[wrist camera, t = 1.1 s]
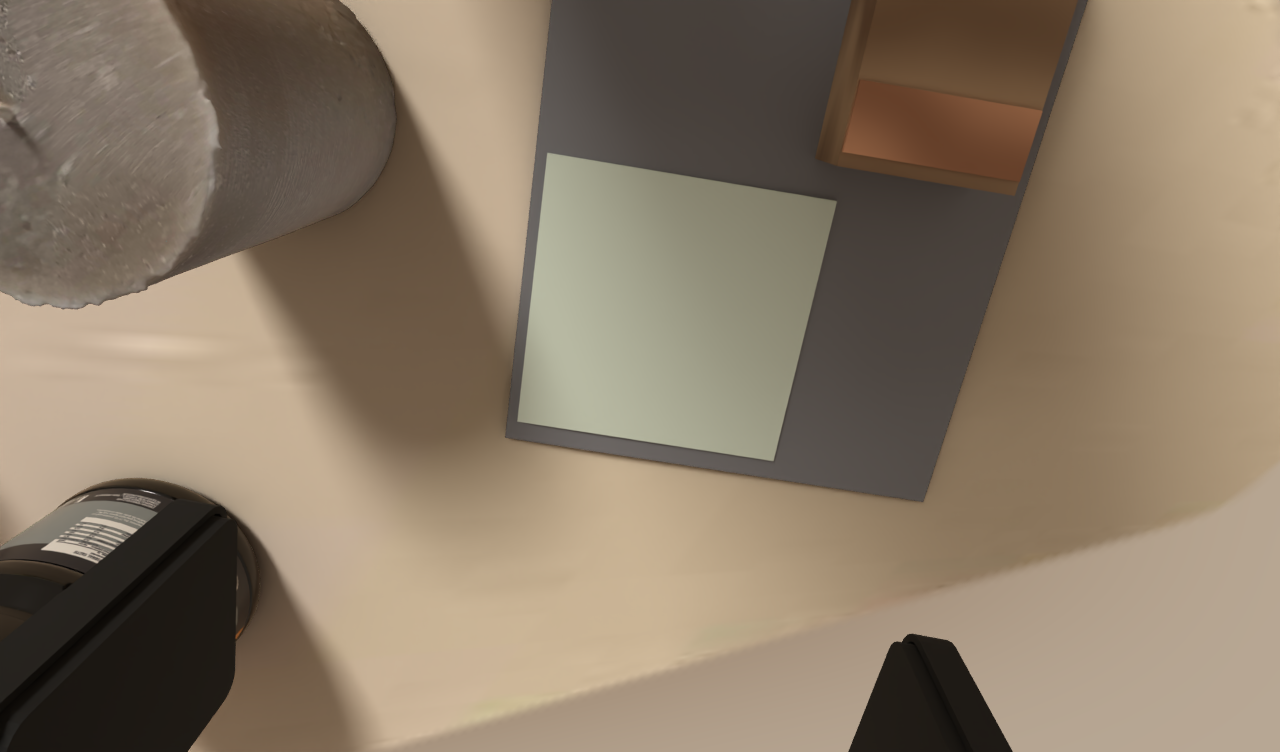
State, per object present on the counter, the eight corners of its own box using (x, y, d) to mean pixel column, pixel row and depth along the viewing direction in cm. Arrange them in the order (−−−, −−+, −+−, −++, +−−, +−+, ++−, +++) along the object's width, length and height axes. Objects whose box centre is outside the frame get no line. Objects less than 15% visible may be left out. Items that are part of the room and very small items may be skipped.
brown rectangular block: (887, -159, 27) (927, -205, 23) (1064, -127, 27) (1133, -166, 23) (814, 158, 30) (837, 166, 26) (970, 184, 31) (1016, 196, 27)
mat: (577, -229, 26) (576, -236, 26) (1124, -128, 27) (1134, -133, 27) (506, 434, 35) (504, 439, 35) (920, 497, 36) (924, 503, 35)
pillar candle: (133, -20, 29) (-360, -126, 15) (378, -38, 29) (107, -164, 15) (199, 230, 32) (-153, 335, 18) (420, 218, 32) (232, 315, 18)
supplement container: (131, 664, 41) (-73, 879, 29) (21, 499, 37) (-257, 671, 26) (305, 618, 39) (163, 825, 28) (208, 443, 36) (1, 598, 25)
